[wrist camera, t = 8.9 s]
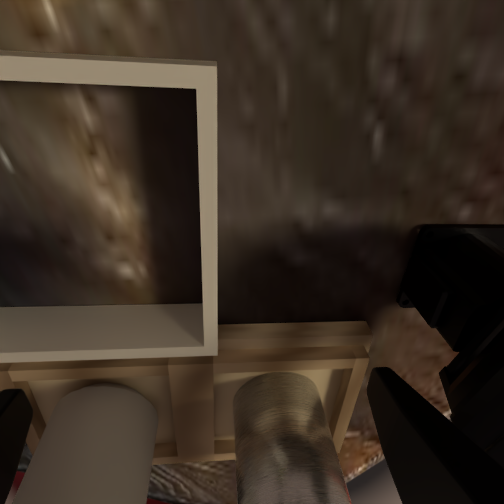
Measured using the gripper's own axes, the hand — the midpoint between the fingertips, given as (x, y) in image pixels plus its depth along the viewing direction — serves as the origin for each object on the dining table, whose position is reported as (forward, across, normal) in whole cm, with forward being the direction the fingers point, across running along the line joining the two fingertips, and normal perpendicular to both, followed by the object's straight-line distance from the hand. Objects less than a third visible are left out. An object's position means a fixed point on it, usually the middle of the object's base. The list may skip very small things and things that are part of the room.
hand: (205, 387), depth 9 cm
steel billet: (+12, -4, +17) cm, 21 cm away
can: (+12, +8, +16) cm, 22 cm away
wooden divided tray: (+13, +2, +17) cm, 21 cm away
